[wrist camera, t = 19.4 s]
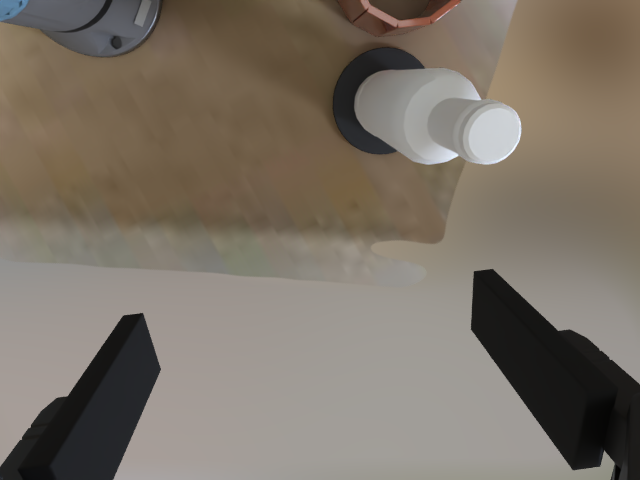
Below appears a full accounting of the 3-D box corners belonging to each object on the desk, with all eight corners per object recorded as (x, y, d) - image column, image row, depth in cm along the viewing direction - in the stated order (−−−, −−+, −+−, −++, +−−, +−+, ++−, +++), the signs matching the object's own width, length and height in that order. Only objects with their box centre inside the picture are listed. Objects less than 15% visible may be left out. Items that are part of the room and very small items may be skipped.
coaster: (316, 129, 53) (317, 130, 52) (360, 28, 49) (361, 27, 48) (402, 168, 56) (403, 169, 55) (450, 76, 52) (452, 76, 51)
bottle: (368, 145, 54) (454, 220, 26) (342, 89, 51) (407, 106, 23) (423, 116, 53) (573, 161, 25) (400, 58, 50) (540, 35, 22)
